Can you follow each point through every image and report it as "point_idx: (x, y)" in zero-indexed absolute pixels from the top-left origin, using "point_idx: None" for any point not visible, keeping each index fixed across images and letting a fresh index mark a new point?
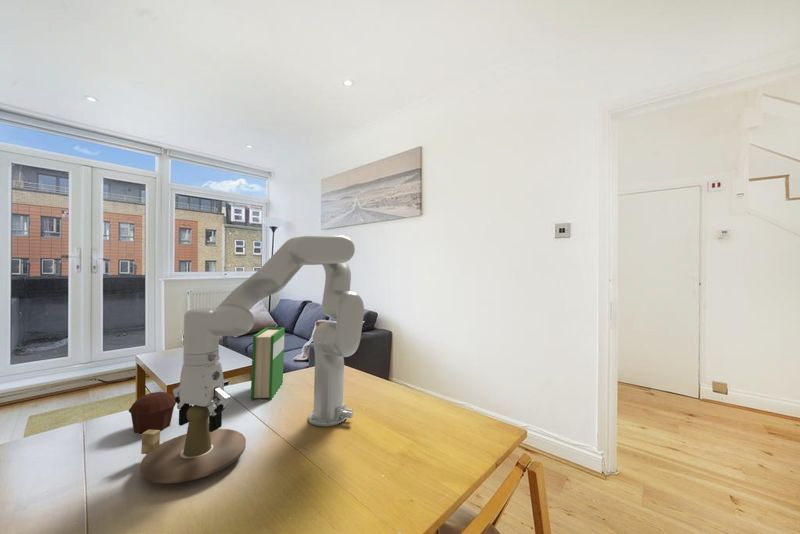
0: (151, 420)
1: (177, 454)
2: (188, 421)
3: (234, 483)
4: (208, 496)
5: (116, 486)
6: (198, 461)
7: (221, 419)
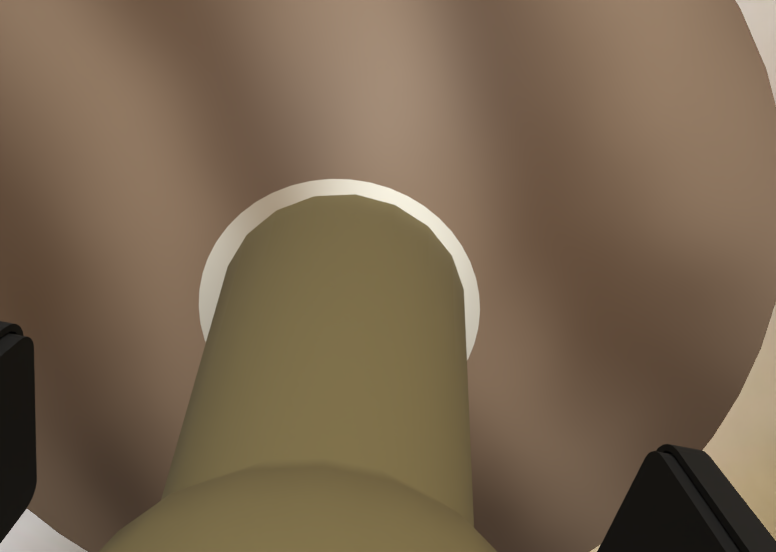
0: None
1: None
2: (26, 396)
3: (746, 430)
4: None
5: (53, 530)
6: (474, 452)
7: (766, 537)
